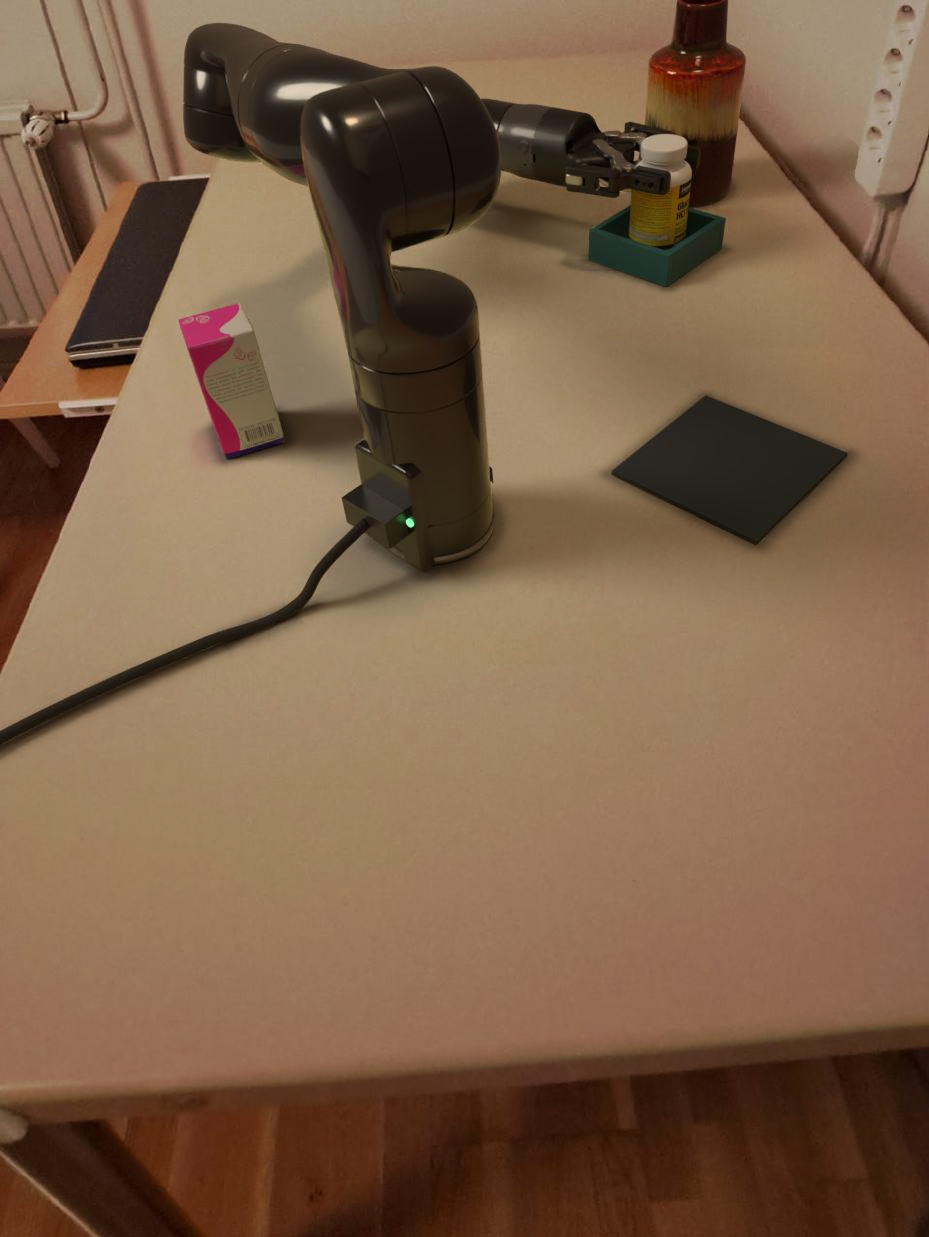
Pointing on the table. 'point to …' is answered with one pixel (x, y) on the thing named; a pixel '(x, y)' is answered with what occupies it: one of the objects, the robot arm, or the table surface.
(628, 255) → the square frame
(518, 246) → the table surface
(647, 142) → the pill bottle
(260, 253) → the table surface
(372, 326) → the robot arm
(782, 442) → the mat
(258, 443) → the supplement box
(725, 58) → the vase
